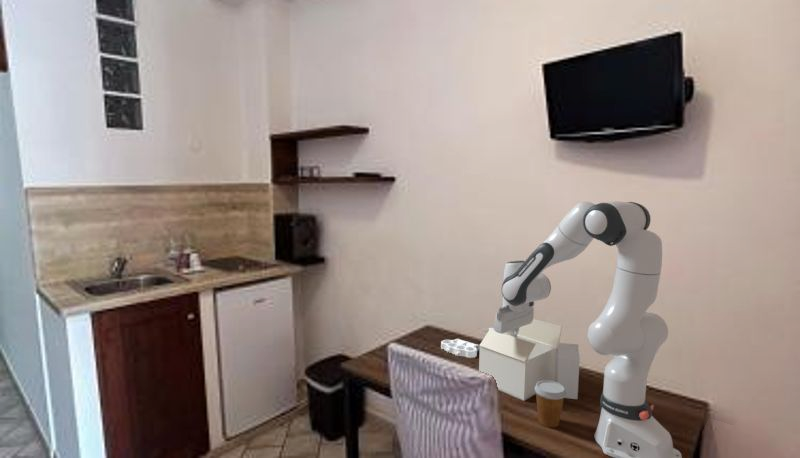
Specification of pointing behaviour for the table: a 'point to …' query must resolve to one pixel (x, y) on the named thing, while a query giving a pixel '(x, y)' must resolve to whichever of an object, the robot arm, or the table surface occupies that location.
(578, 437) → the table surface
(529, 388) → the carton
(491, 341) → the near flap
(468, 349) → the knuckle duster
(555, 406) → the disposable coffee cup
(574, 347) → the milk carton
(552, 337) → the far flap
